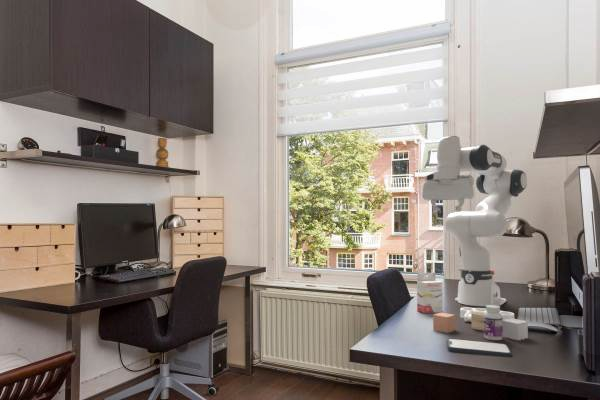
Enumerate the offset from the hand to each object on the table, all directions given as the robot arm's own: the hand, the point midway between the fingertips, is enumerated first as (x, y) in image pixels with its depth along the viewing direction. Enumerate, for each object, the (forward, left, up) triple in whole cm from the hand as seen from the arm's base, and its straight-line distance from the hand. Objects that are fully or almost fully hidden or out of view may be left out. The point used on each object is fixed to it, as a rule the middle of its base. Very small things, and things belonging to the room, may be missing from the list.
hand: (446, 211), depth 170 cm
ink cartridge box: (+5, -5, -39) cm, 40 cm away
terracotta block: (+26, +13, -39) cm, 49 cm away
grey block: (+18, +32, -39) cm, 53 cm away
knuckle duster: (+3, +16, -40) cm, 43 cm away
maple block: (+15, +20, -39) cm, 46 cm away
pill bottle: (+24, +28, -39) cm, 54 cm away
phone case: (+38, +30, -40) cm, 62 cm away
